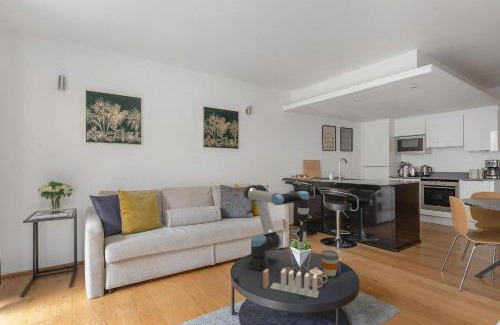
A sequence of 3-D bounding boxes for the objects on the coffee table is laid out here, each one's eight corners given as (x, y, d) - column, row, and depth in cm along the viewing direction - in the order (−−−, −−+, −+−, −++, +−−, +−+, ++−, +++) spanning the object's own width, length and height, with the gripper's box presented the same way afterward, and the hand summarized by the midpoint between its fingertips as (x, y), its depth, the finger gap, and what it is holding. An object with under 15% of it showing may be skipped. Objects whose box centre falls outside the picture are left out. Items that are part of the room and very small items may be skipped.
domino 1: (262, 288, 170) (263, 272, 170) (265, 285, 175) (265, 268, 175) (265, 289, 169) (266, 272, 169) (268, 285, 174) (268, 269, 174)
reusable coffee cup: (335, 269, 199) (335, 250, 199) (341, 277, 187) (341, 256, 187) (318, 270, 199) (318, 250, 199) (323, 277, 187) (323, 256, 186)
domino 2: (280, 289, 168) (280, 272, 168) (283, 285, 173) (283, 268, 173) (283, 289, 168) (283, 272, 167) (286, 285, 173) (286, 269, 173)
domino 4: (296, 292, 164) (296, 274, 164) (298, 288, 170) (298, 271, 169) (299, 293, 164) (299, 275, 163) (301, 288, 169) (301, 271, 169)
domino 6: (312, 295, 161) (312, 277, 160) (314, 291, 166) (314, 274, 165) (315, 296, 160) (315, 278, 160) (317, 292, 165) (317, 274, 165)
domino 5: (304, 294, 162) (304, 276, 162) (306, 289, 168) (306, 272, 167) (307, 294, 162) (307, 276, 162) (309, 290, 167) (309, 273, 167)
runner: (269, 288, 170) (269, 287, 170) (273, 283, 177) (273, 282, 177) (317, 298, 158) (317, 297, 158) (319, 292, 166) (319, 291, 166)
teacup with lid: (309, 288, 171) (309, 270, 171) (308, 281, 180) (308, 264, 180) (328, 289, 169) (328, 271, 169) (326, 283, 178) (326, 266, 178)
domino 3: (288, 290, 166) (288, 273, 166) (290, 286, 172) (290, 270, 171) (291, 291, 166) (291, 274, 165) (293, 287, 171) (293, 270, 171)
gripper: (306, 217, 173) (305, 249, 174) (310, 210, 196) (310, 238, 197) (294, 216, 175) (294, 248, 176) (300, 209, 199) (299, 237, 200)
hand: (302, 243), depth 187 cm, fingers open, 13 cm apart
